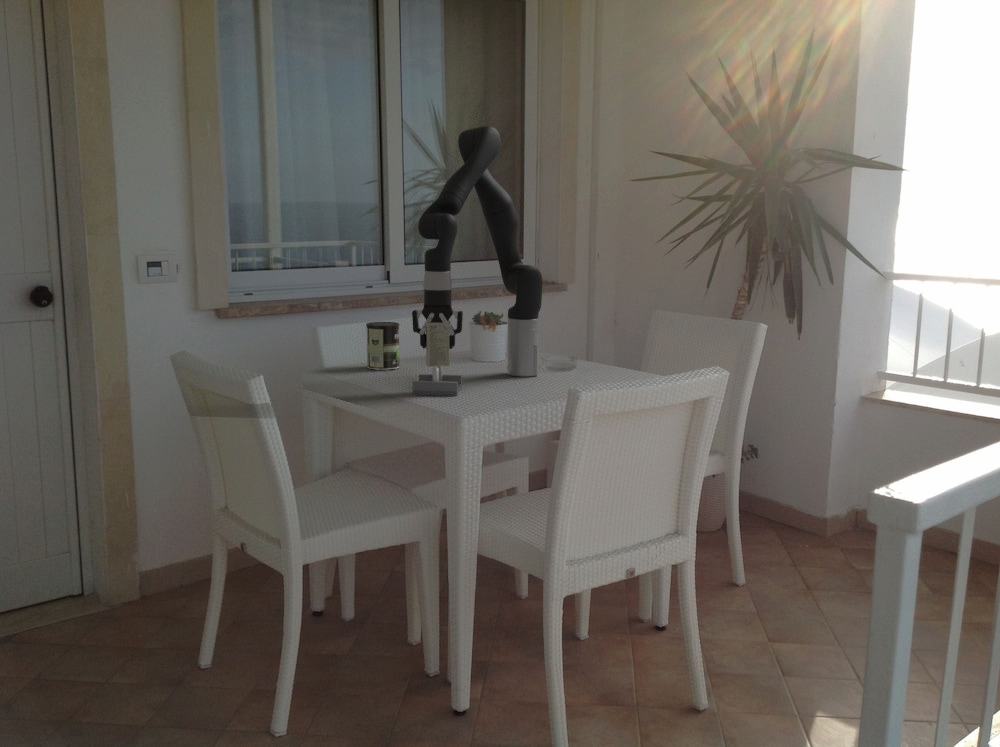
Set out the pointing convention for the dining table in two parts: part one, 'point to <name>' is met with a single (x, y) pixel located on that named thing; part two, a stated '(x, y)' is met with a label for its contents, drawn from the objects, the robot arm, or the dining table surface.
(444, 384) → the tray
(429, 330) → the skincare box
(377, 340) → the coffee can
